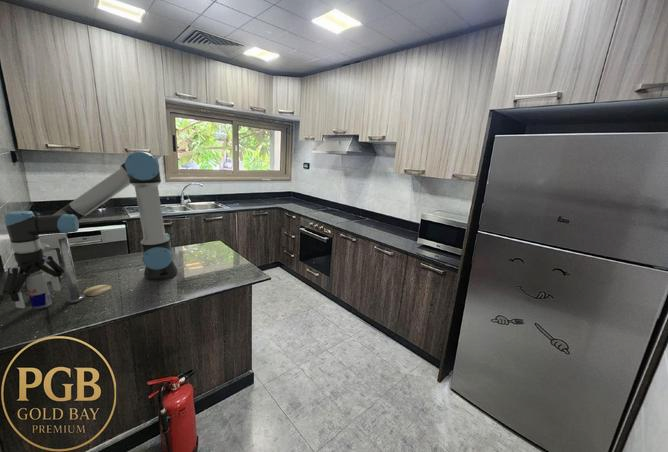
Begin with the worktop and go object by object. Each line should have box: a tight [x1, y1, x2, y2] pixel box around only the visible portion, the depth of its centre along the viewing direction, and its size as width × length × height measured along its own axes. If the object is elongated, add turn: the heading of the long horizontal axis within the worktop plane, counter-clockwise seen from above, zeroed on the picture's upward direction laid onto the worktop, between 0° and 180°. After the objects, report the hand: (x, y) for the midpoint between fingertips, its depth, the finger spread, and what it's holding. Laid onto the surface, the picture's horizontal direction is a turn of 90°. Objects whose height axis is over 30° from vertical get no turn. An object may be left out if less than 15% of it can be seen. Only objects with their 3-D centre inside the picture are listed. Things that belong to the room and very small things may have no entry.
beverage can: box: [24, 271, 53, 310], centre depth 110 cm, size 6×6×15 cm
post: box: [57, 236, 86, 305], centre depth 114 cm, size 6×6×28 cm
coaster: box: [82, 284, 112, 297], centre depth 126 cm, size 10×10×1 cm
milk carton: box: [40, 243, 63, 283], centre depth 132 cm, size 7×7×19 cm
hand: (40, 298), depth 111 cm, fingers open, 13 cm apart
